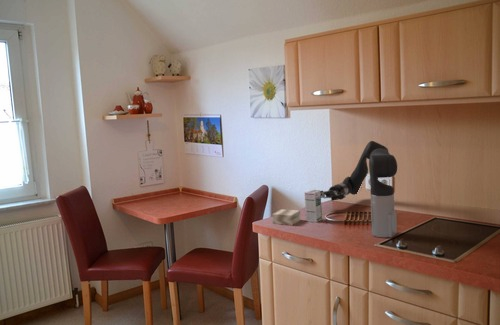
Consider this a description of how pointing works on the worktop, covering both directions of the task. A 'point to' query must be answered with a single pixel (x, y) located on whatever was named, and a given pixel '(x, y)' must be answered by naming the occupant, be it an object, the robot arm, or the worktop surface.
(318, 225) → the worktop surface
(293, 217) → the ash block
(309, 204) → the syrup box
